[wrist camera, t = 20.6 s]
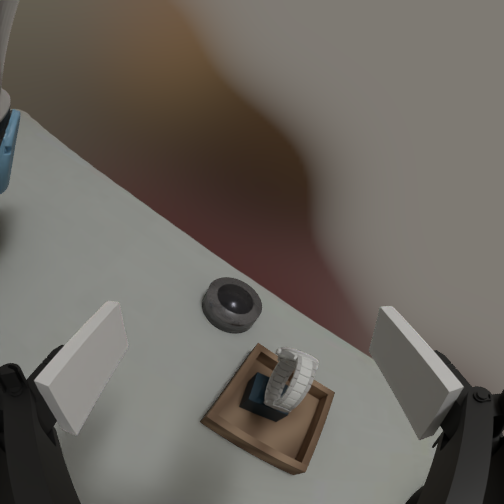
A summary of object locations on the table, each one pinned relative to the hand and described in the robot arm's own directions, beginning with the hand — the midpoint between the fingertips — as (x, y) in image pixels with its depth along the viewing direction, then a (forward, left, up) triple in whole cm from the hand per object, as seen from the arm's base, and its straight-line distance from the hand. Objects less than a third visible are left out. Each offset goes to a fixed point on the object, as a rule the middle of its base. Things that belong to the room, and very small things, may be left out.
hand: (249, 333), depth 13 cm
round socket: (-8, +21, -23) cm, 32 cm away
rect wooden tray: (+7, +12, -23) cm, 26 cm away
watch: (+5, +12, -22) cm, 26 cm away
